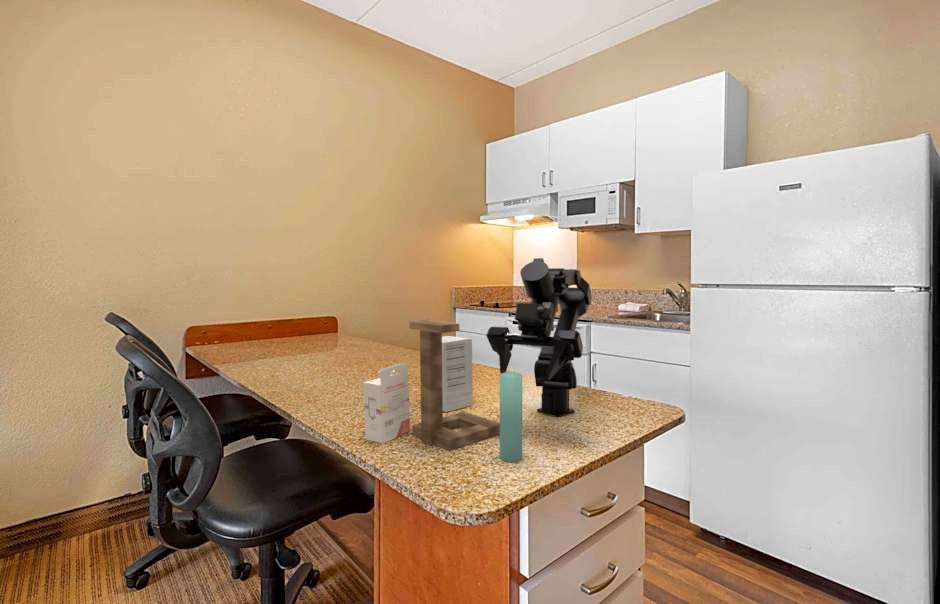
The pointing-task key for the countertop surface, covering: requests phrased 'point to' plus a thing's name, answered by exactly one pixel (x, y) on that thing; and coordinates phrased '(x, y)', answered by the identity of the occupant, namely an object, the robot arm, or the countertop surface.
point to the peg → (511, 417)
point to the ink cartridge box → (387, 405)
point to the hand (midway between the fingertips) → (524, 376)
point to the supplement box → (456, 373)
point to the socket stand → (432, 421)
